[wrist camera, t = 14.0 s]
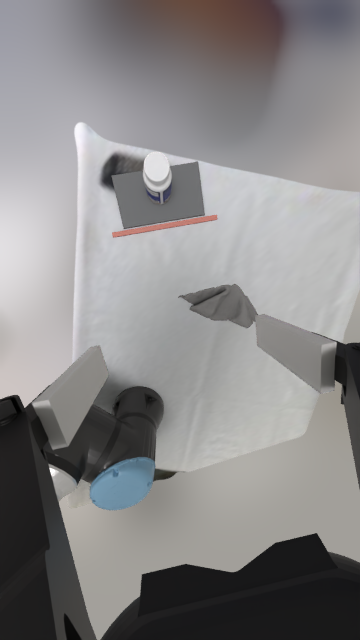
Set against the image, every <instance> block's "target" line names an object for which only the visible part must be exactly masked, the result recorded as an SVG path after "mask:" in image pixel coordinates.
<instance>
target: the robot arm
mask: <svg viewBox="0 0 360 640" xmlns="http://www.w3.org/2000/svg"><path fill="white" fill-rule="evenodd" d="M255 321H256V335H257V346H258V347H260V348H261V349H262V350H264V351H265V352H266V353H268V354H269V355H270V356H271V357H273V358H274V359H275V360H277V361H278V362H279V363H281V364H282V365H283V366H285V367H286V368H287V369H289V370H290V371H291V372H293V373H294V374H295V375H296V376H298V377H299V378H300V379H302V380H303V381H304V382H306V383H307V384H308V385H310V386H311V387H312V388H314V389H315V390H316V391H318V392H319V393H320V394H321V393H326V392H331V391H334V387H335V380H336V381H337V382H339V383H341V384H342V394H341V404H344V406H345V412H346V418H347V423H348V429H349V433H350V439H351V445H352V450H353V456H354V461H355V467H356V472H357V477H358V483H359V488H360V343H348V344H343V343H340V342H338V341H335V340H332V339H328V338H327V337H325V336H322V335H319V334H317V333H313V332H309V331H307V330H304V329H301V328H299V327H296V326H294V325H291V324H289V323H286V322H283V321H281V320H278V319H276V318H273V317H270V316H268V315H265V314H261V315H256V316H255ZM108 376H109V373H108V370H107V367H106V364H105V360H104V357H103V354H102V351H101V348H100V346H95V347H90V348H89V349H88V350H87V351H86V352H85V353H84V354H83V355H82V356H81V357H80V358H79V359H78V360H77V361H76V362H74V363H73V364H72V365H71V366H70V367H69V368H68V369H67V370H66V371H65V372H64V373H63V374H62V375H61V376H60V377H59V378H58V379H57V380H55V382H53V383H52V384H51V385H49V386H48V387H47V388H46V389H45V390H44V391H43V392H42V393H40V394H39V395H38V397H37V398H35V399H34V400H33V401H32V402H31V403H30V404H29V405H28V406H27V407H26V408H24V406H23V404H22V402H21V399H20V397H19V396H18V395H12V396H9V397H5V398H3V399H0V640H97V639H96V636H95V634H94V631H93V629H92V626H91V623H90V620H89V617H88V613H87V610H86V606H85V602H84V598H83V595H82V591H81V587H80V583H79V580H78V575H77V572H76V568H75V564H74V560H73V556H72V552H71V549H70V545H69V541H68V537H67V533H66V529H65V526H64V522H63V518H62V515H61V510H60V507H59V501H60V500H61V499H62V498H63V497H64V496H66V495H67V494H69V493H71V492H72V491H74V490H75V489H76V487H77V485H78V483H79V481H80V479H82V480H84V481H87V482H89V483H91V486H90V498H91V500H92V502H93V503H94V504H95V505H96V506H98V507H99V508H102V509H106V510H120V509H125V508H128V507H131V506H133V505H135V504H137V503H138V502H140V501H141V500H143V499H144V498H145V497H146V495H147V494H148V493H149V491H150V489H151V487H152V484H153V477H154V470H155V449H156V431H157V429H158V426H159V424H160V422H161V420H162V417H163V401H162V399H161V397H160V396H159V395H158V394H157V393H156V392H155V391H153V390H152V389H149V388H146V387H132V388H129V389H127V390H125V391H123V392H122V393H121V394H120V395H119V396H118V397H117V399H116V401H115V403H114V406H113V411H112V415H111V414H109V413H108V412H106V411H104V410H102V409H101V408H99V407H97V406H95V405H94V404H93V402H94V400H95V399H96V397H97V395H98V393H99V392H100V390H101V388H102V386H103V385H104V383H105V381H106V379H107V378H108ZM101 640H360V563H359V562H357V561H354V560H352V559H350V558H347V557H345V556H342V555H339V554H335V553H331V552H328V551H327V550H326V548H325V546H324V545H323V543H322V541H321V539H320V538H319V536H318V534H317V533H315V534H312V535H307V536H303V537H299V538H294V539H290V540H286V541H282V542H277V543H275V544H273V545H272V546H271V547H269V548H268V549H267V550H265V551H264V552H263V553H261V554H260V555H259V556H257V557H256V558H255V559H254V560H252V561H251V562H250V563H248V564H247V565H246V566H244V567H243V568H242V569H241V570H239V571H237V572H226V571H221V570H215V569H210V568H204V567H199V566H194V565H188V564H184V565H180V566H176V567H171V568H167V569H163V570H159V571H155V572H150V573H146V574H142V580H141V593H140V597H138V598H137V599H136V600H134V601H133V602H132V603H131V604H130V605H129V606H128V607H127V608H126V609H125V610H124V611H123V612H122V613H121V614H120V615H119V616H118V618H117V619H116V620H115V621H114V622H113V623H112V624H111V626H110V627H109V628H108V630H107V631H106V633H105V634H104V636H103V637H102V639H101Z"/></svg>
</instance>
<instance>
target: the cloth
mask: <svg viewBox="0 0 360 640" xmlns="http://www.w3.org/2000/svg"><path fill="white" fill-rule="evenodd" d="M179 297H183V298H184V299H186V300H187V301H188V302H190V303H192V304H193V306H191V308H190V310H192V311H194V312H196V313H198V314H200V315H202V316H204V317H206V318H210V319H211V320H227V319H228V320H230V321H232V322H234V323H237V324H239V325H241V326H243V327H246V328H248V327H250V326H251V325H252V324H253V321H254V322H256V321H255V316H256V315H258V314H257V312H256V310H255V308H254V307H253V305H252V304H251V302H250V300H249V299H248V297H247V296H245V295H244V293H243V292H242V290H241V289H240V287H239V286H238V285H236V284H234V285H232V286H230V285H222V286H219V287H216V288H214V287H213V288H210V289H205V290H202V291H198V292H196V293H190V294H187V295H185V296H183V295H182V296H179ZM179 297H178V298H179Z"/></svg>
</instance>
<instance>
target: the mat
mask: <svg viewBox="0 0 360 640" xmlns="http://www.w3.org/2000/svg"><path fill="white" fill-rule="evenodd" d="M170 169H171V173H172V186H171V196H170V198H169V200H168V201H167V202H166V203H164V204H155V203H153V202H152V201H151V200H150V199H149V197H148V195H147V191H146V187H145V183H144V179H143V171H138V172H132V173H125V174H119V175H113V176H112V180H113V184H114V189H115V193H116V197H117V201H118V206H119V210H120V214H121V219H122V223H123V227H124V229H126V228H132V227H138V226H143V225H149V224H155V223H161V222H167V221H173V220H179V219H184V218H190V217H196V216H202V215H205V213H204V205H203V197H202V189H201V181H200V173H199V165H198V162H194V163H188V164H181V165H175V166H170Z"/></svg>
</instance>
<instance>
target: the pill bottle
mask: <svg viewBox="0 0 360 640" xmlns="http://www.w3.org/2000/svg"><path fill="white" fill-rule="evenodd" d="M143 179H144V183H145V187H146V191H147V195H148V197H149V199H150V200H151V201H152V202H153V203H155V204H164V203H166V202H167V201H168V200H169V198H170V196H171V186H172V173H171V169H170V166H169V161H168V159H167V158H166V156H165V155H164V154H162V153H161V152H156V151H155V152H151V153H150V154H148V155H147V157H146V158H145V161H144V169H143Z"/></svg>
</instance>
